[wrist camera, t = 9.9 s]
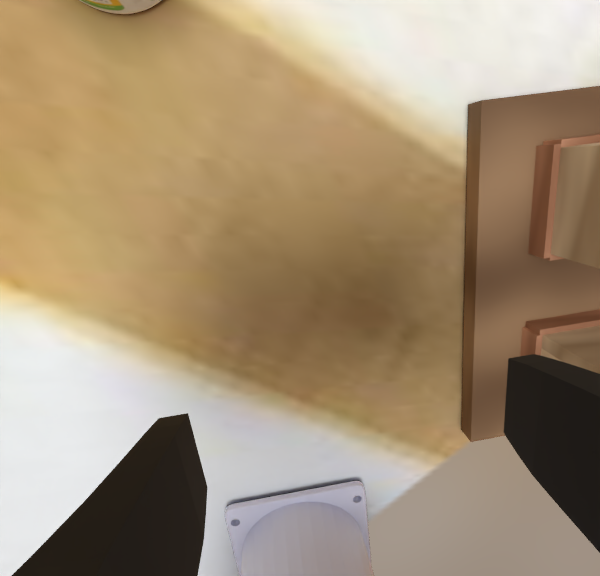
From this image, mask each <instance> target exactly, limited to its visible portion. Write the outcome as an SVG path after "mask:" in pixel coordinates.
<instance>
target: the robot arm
mask: <svg viewBox="0 0 600 576" xmlns="http://www.w3.org/2000/svg"><path fill="white" fill-rule="evenodd" d="M504 434H505V436H506V437H507V438H508V440H509V442H510V443H511V445H512V446H513V448H514V449H515V451H516V452H517V454H518V455H519V456H520V458H521V460H523V462H524V463H525V465H526V467H527V468H528V469H529V471H530V472H531V474H532V475H533V476H534V477H535V478H536V480H537V481H538V482H539V483H540V484H541V486H542V487H543V488H544V489H545V490H546V491H547V493H548V494H549V495H550V496H551V497H552V498H553V500H554V501H555V502H556V503H557V504H558V505H559V507H560V508H561V509H562V510H563V511H564V512H565V513H566V514H567V516H568V517H569V518H570V519H571V520H572V521H573V523H574V524H575V525H576V526H577V527H578V528H579V529H580V531H581V532H582V533H583V534H584V535H585V536H586V537H587V539H588V540H589V541H590V542H591V543H592V544H593V545H594V547H595V548H596V549H597V550H598V551H599V552H600V374H599V373H596V372H593V371H590V370H587V369H584V368H581V367H578V366H574V365H571V364H568V363H565V362H562V361H558V360H555V359H552V358H548V357H544V356H540V355H536V354H531V355H525V356H519V357H514V358H508V372H507V387H506V402H505V417H504ZM355 496H357V497H355ZM206 500H207V484H206V481H205V477H204V473H203V469H202V466H201V462H200V458H199V454H198V450H197V447H196V443H195V439H194V435H193V431H192V428H191V424H190V420H189V416H188V413H187V414H181V415H176V416H170V417H164V418H159V419H158V420H157V421H156V422H155V423H154V424H153V425H152V426H151V427H150V429H149V430H148V431H147V432H146V433H145V434H144V435H143V436H142V438H141V439H140V440H139V441H138V442H137V443H136V444H135V446H134V447H133V448H132V449H131V450H130V451H129V452H128V454H127V455H126V456H125V457H124V458H123V459H122V460H121V462H120V463H119V464H118V465H117V466H116V467H115V468H114V469H113V470H112V472H111V473H110V474H109V475H108V476H107V477H106V478H105V479H104V480H103V482H102V483H101V484H100V485H99V486H98V487H97V488H96V489H95V490H94V492H93V493H92V494H91V495H90V496H89V497H88V498H87V499H86V500H85V501H84V503H83V504H82V505H81V506H80V507H79V508H78V509H77V510H76V511H75V512H74V513H73V514H72V515H71V516H70V517H69V518H68V519H67V520H66V521H65V522H64V523H63V524H62V525H61V526H60V527H59V528H58V529H57V530H56V531H55V533H54V534H53V535H52V536H51V537H50V538H49V539H48V540H47V541H46V542H45V543H44V544H43V545H42V546H41V547H40V548H39V549H38V550H37V551H36V552H35V553H34V554H33V555H32V556H31V557H30V558H29V559H28V560H27V561H26V562H25V563H24V564H23V565H22V566H21V567H20V568H19V569H18V570H17V571H16V572H15V573H14V574H13V575H12V576H197V575H198V569H199V563H200V557H201V552H202V546H203V540H204V529H205V516H206ZM234 519H238V520H234ZM225 520H226V524H227V528H228V532H229V536H230V540H231V544H232V547H233V551H234V555H235V559H236V563H237V567H238V571H239V575H240V576H374V574H373V570H372V566H371V555H370V543H369V532H368V520H367V508H366V496H365V489H364V486H363V483H361V482H360V481H351V482H346V483H341V484H336V485H330V486H325V487H320V488H314V489H309V490H304V491H298V492H293V493H288V494H283V495H277V496H272V497H267V498H261V499H256V500H251V501H246V502H240V503H235V504H231V505H229V506H228V507H227V508H226V509H225Z"/></svg>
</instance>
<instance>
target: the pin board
mask: <svg viewBox="0 0 600 576" xmlns="http://www.w3.org/2000/svg"><path fill="white" fill-rule="evenodd" d="M594 134H600V86H596V87H588V88H580V89H572V90H563V91H555V92H547V93H539V94H531V95H523V96H515V97H507V98H499V99H490V100H482V101H479V102H475V103H472V104H468V147H467V194H466V241H465V288H464V335H463V382H462V428H461V430H462V431H463V432H464V434H465V435H466V436H467V437H468V439H469V440H470V441H471V442H473V441H478V440H484V439H489V438H494V437H500V436H505V434H504V417H505V402H506V387H507V372H508V358H514V357H519V356H520V352H521V340H522V327H525V324H526V321H531V320H537V319H543V318H549V317H556V316H562V315H568V314H574V313H580V312H586V311H592V310H598V309H600V269H598V268H595V267H592V266H588V265H585V264H582V263H578V262H575V261H572V260H568V259H558V260H552V261H549V260H546V259H543V258H540V257H537V256H534V255H532V254H528V249H529V236H530V223H531V210H532V197H533V184H534V171H535V158H536V146H539V145H543V141H549V140H556V139H564V138H571V137H579V136H586V135H594Z"/></svg>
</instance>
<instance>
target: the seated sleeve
mask: <svg viewBox="0 0 600 576" xmlns="http://www.w3.org/2000/svg"><path fill="white" fill-rule="evenodd" d="M531 354H536V355H540V356H544V357H548V358H552V359H555V360H558V361H562V362H565V363H568V364H571V365H574V366H578V367H581V368H584V369H587V370H590V371H593V372H596V373H599V374H600V309H598V310H592V311H586V312H580V313H574V314H568V315H562V316H556V317H549V318H543V319H537V320H531V321H526V324H525V327H522V340H521V352H520V356H525V355H531Z"/></svg>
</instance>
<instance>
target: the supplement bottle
mask: <svg viewBox="0 0 600 576" xmlns="http://www.w3.org/2000/svg"><path fill="white" fill-rule="evenodd" d="M79 1H81V2H83V3H85V4H87V5H89V6H91V7H93V8H96V9H98V10H101V11H105V12H109V13H115V14H132V13H137V12H141V11H144V10H146V9H149V8H151V7H153V6H154V5H156V4H157V3H159V2H160V1H162V0H79Z"/></svg>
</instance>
